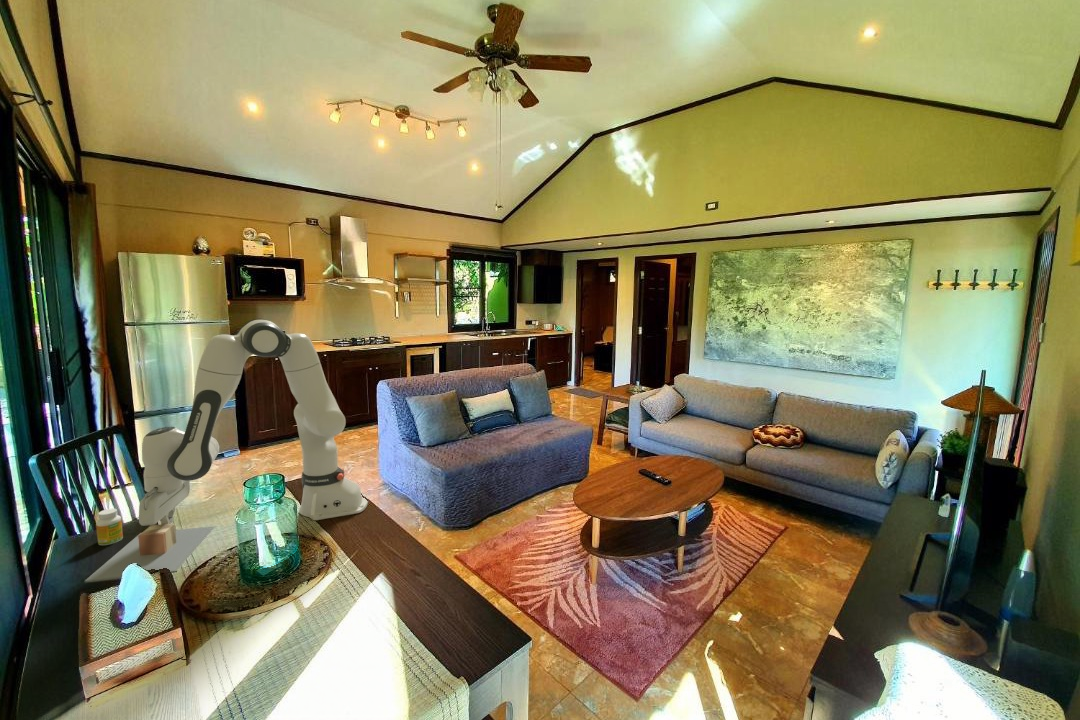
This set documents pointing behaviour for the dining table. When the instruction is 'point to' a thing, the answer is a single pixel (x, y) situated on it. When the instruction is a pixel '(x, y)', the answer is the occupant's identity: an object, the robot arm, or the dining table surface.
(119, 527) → the supplement bottle
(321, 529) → the dining table surface
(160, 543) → the birch block
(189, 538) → the slate mat
